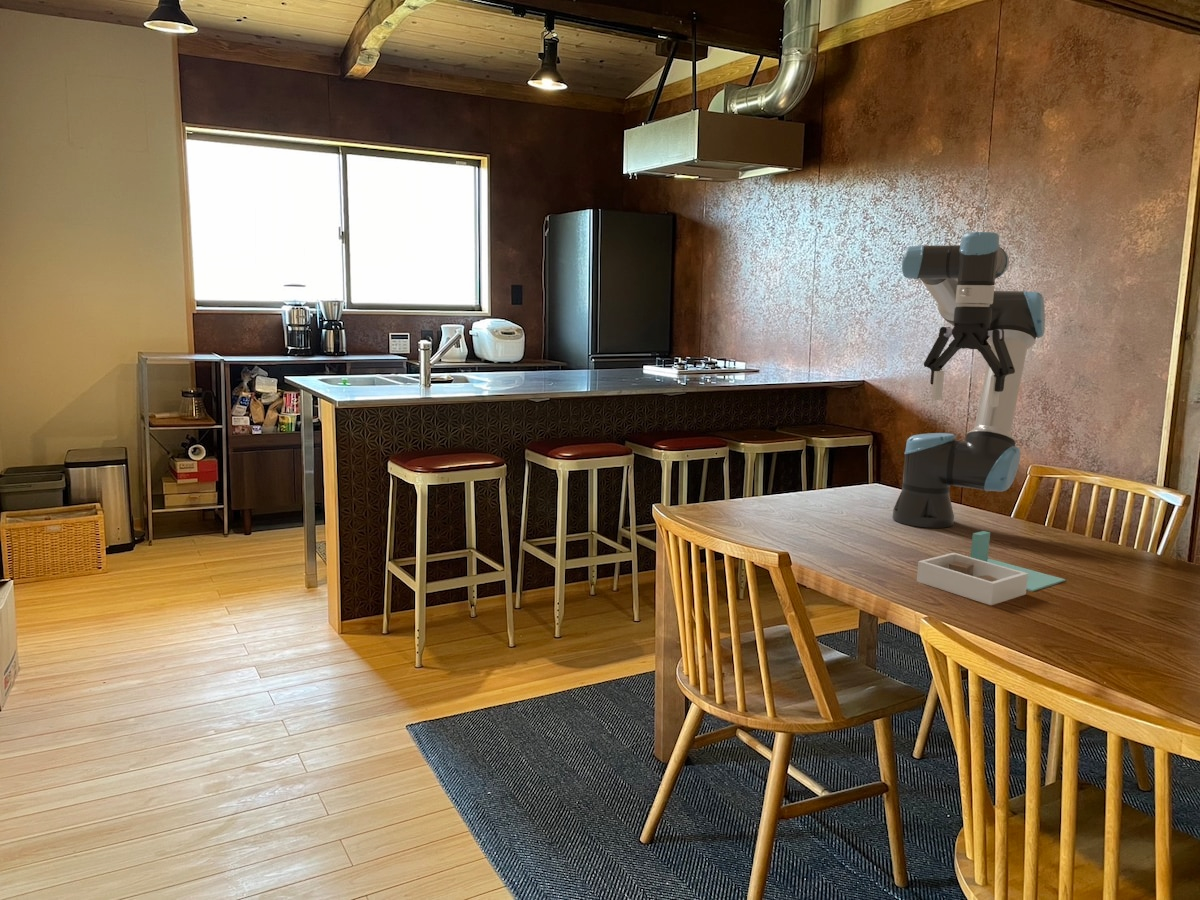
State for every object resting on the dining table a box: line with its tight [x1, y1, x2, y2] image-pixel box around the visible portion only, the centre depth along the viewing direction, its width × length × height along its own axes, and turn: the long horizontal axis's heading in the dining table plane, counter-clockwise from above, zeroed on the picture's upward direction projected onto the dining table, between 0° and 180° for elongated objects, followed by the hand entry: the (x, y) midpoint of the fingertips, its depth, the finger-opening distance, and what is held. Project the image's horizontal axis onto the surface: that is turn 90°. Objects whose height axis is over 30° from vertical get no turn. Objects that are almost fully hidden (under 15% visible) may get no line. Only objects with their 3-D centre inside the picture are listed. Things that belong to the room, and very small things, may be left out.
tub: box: [916, 552, 1028, 606], centre depth 170 cm, size 12×16×5 cm
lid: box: [969, 530, 1066, 592], centre depth 179 cm, size 13×17×8 cm
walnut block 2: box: [974, 575, 999, 582], centre depth 165 cm, size 4×4×4 cm
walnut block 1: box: [949, 561, 974, 576], centre depth 174 cm, size 4×4×4 cm
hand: (964, 403), depth 190 cm, fingers open, 13 cm apart
